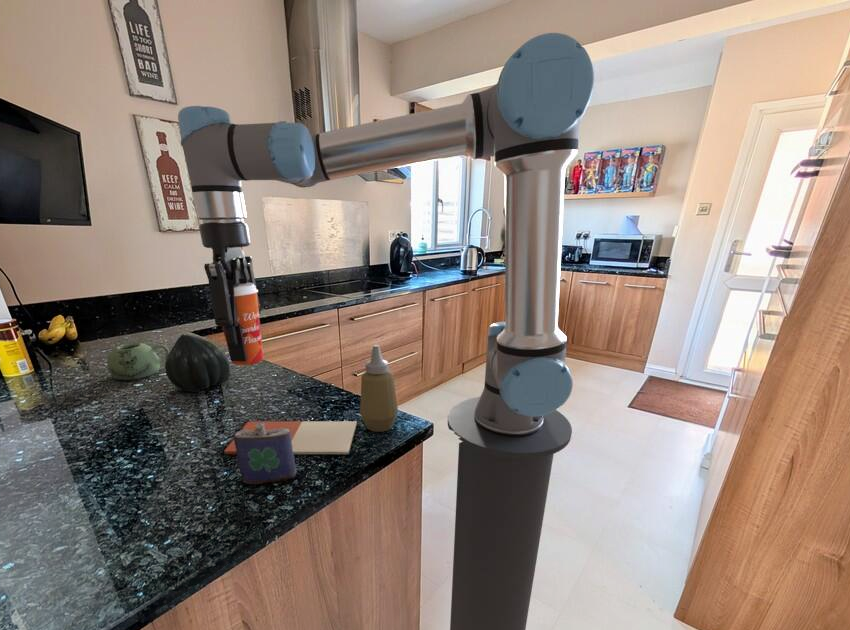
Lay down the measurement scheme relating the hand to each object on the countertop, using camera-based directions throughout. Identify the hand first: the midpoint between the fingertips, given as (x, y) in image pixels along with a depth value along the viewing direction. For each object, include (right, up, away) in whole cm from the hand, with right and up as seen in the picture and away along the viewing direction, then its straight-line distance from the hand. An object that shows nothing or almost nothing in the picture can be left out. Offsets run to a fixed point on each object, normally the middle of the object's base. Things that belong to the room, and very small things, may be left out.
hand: (246, 354), depth 74 cm
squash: (-25, -6, +33) cm, 41 cm away
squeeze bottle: (+25, -15, +10) cm, 30 cm away
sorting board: (+7, -17, +6) cm, 19 cm away
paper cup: (0, -1, +1) cm, 1 cm away
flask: (+6, -22, -6) cm, 24 cm away
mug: (-47, -2, +43) cm, 64 cm away
